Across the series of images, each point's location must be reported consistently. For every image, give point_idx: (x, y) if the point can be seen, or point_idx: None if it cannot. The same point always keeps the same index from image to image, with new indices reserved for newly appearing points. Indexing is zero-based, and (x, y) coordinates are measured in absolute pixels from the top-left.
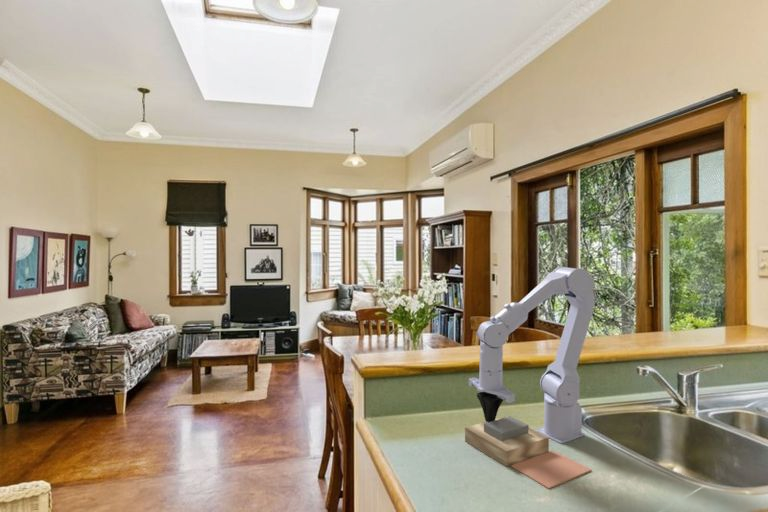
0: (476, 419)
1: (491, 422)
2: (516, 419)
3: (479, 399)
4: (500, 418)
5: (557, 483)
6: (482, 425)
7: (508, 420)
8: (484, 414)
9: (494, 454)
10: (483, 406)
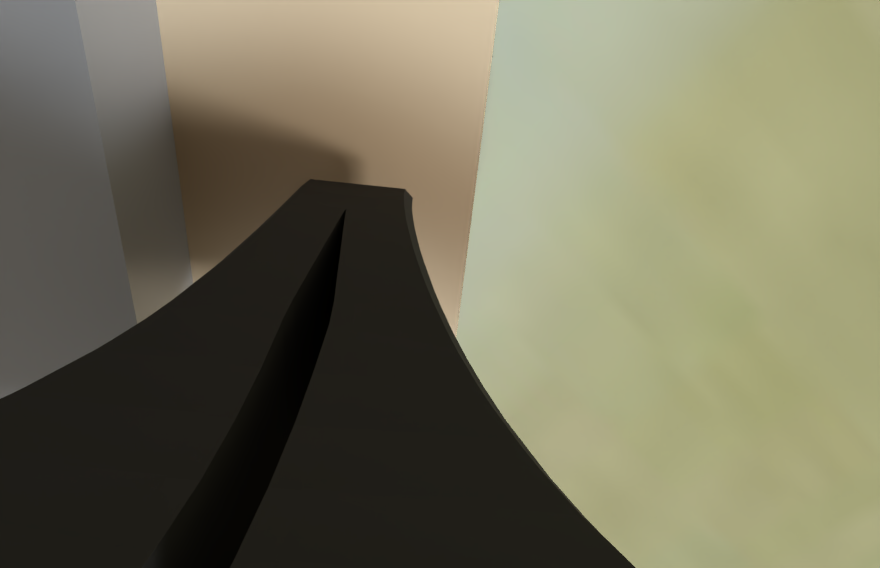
0: (865, 366)
1: (46, 95)
2: None
3: (504, 499)
4: None
5: None
6: (388, 57)
7: None
8: (393, 245)
9: None
10: (375, 363)
